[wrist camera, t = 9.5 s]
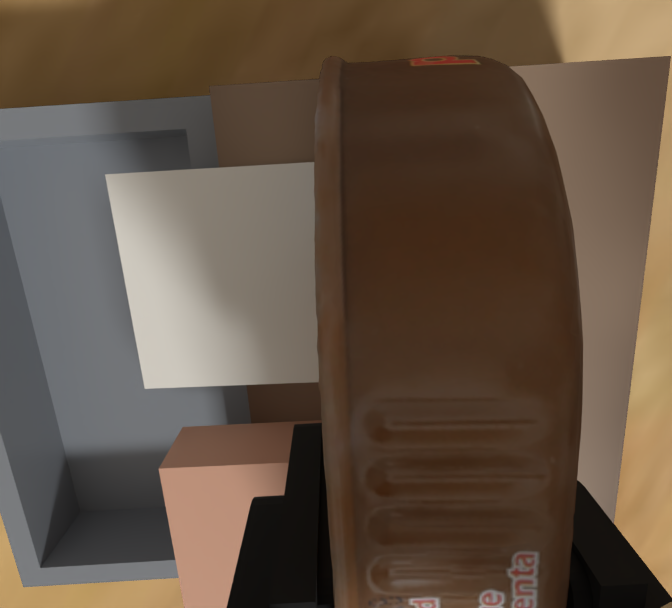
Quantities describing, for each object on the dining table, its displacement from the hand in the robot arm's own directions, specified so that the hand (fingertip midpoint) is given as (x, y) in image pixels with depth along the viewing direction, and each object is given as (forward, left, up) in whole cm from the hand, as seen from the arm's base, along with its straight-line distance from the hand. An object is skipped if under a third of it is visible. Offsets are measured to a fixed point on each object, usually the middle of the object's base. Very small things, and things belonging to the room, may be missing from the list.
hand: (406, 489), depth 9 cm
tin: (-1, 0, -4) cm, 5 cm away
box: (+9, 0, -10) cm, 13 cm away
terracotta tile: (+3, +4, -5) cm, 7 cm away
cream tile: (+3, -4, -5) cm, 7 cm away
